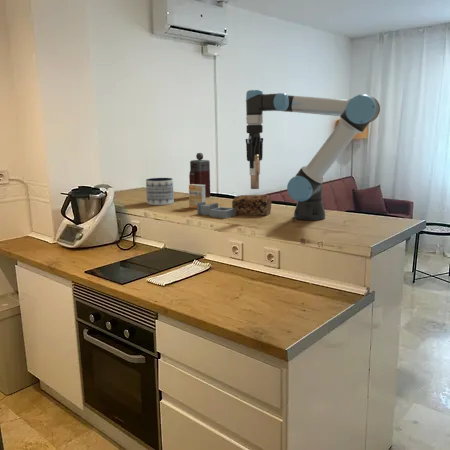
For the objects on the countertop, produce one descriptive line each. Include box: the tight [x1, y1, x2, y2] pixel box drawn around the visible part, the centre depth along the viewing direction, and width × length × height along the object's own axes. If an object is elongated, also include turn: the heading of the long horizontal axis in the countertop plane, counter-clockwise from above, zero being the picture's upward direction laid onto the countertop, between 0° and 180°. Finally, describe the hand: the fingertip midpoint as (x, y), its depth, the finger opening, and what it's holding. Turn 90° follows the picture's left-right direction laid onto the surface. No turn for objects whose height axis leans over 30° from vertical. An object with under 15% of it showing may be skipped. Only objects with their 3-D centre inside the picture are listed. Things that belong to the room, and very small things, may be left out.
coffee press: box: [188, 152, 211, 198], centre depth 296 cm, size 9×11×28 cm
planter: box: [145, 177, 175, 206], centre depth 276 cm, size 16×16×14 cm
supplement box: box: [188, 183, 206, 209], centre depth 259 cm, size 8×5×13 cm, turn 68°
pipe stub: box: [250, 155, 260, 190], centre depth 222 cm, size 4×4×16 cm
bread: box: [231, 194, 272, 217], centre depth 240 cm, size 19×11×10 cm, turn 70°
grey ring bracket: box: [196, 201, 237, 219], centre depth 238 cm, size 10×19×6 cm, turn 58°
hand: (254, 174), depth 222 cm, fingers closed on pipe stub, 4 cm apart
